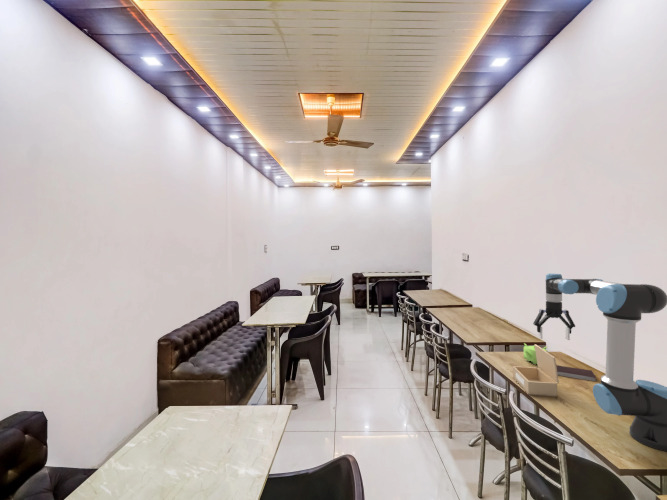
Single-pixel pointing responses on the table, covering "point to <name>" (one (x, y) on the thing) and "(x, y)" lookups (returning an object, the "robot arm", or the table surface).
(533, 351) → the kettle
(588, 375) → the book
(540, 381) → the open box
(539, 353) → the lid
